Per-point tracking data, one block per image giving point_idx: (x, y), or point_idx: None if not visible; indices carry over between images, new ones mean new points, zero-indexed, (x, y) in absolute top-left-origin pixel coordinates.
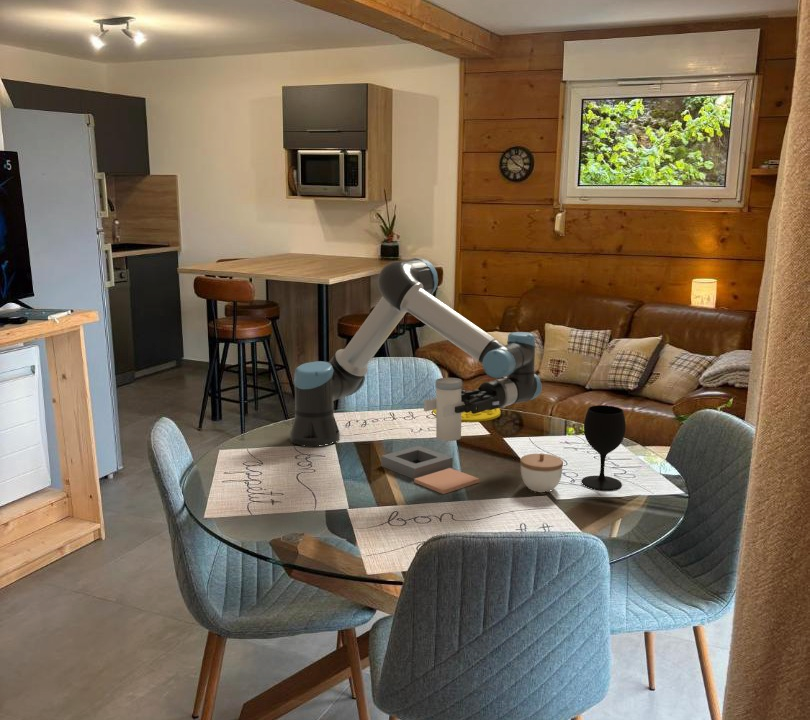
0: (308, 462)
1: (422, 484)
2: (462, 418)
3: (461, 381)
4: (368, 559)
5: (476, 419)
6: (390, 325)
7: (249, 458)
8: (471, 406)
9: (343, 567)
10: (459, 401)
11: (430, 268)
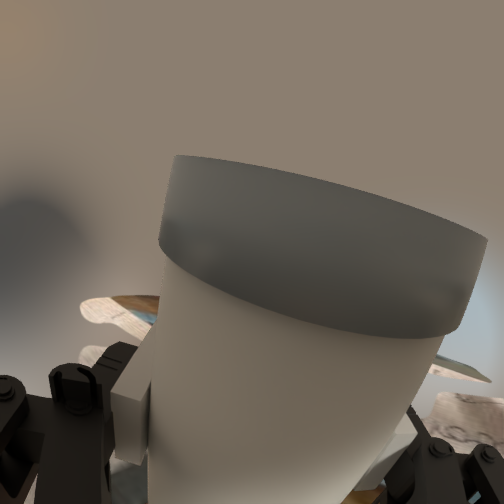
0: (461, 438)
1: None
2: None
3: (190, 157)
4: (118, 308)
5: None
6: None
7: (480, 398)
8: (28, 396)
9: (131, 297)
10: (152, 380)
11: None
